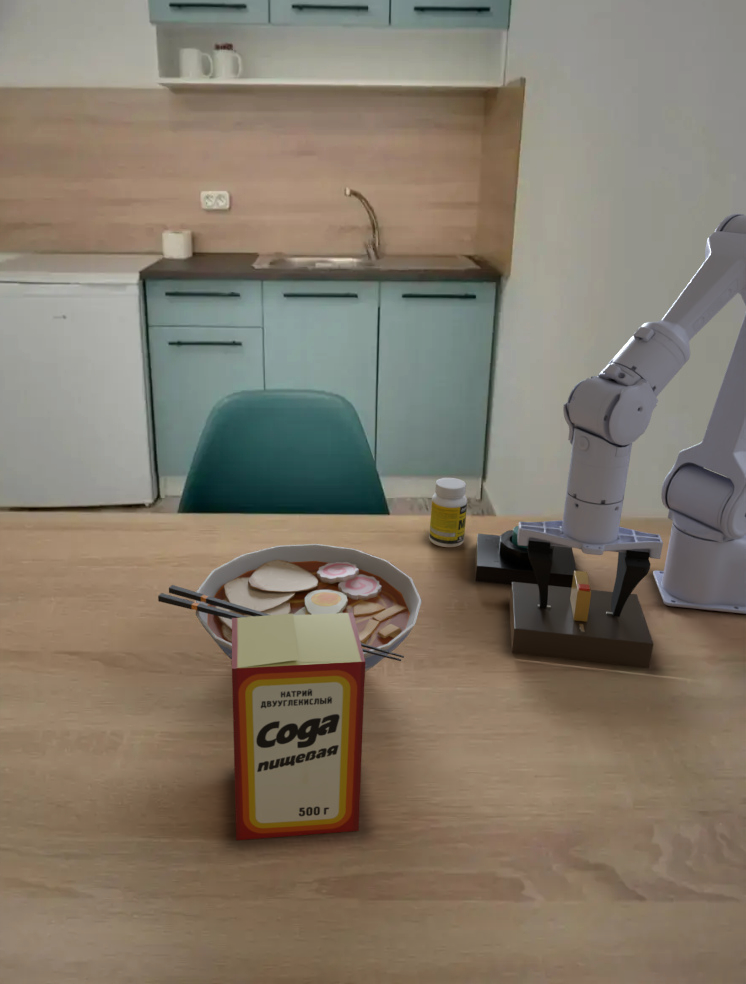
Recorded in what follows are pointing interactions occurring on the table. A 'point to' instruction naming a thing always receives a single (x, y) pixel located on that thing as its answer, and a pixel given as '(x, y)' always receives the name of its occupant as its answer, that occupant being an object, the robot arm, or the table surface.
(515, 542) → the bell button
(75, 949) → the table surface
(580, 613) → the lock knob
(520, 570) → the block
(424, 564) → the table surface
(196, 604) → the ramen bowl
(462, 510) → the supplement bottle
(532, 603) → the lock plate
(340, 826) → the baking soda box
